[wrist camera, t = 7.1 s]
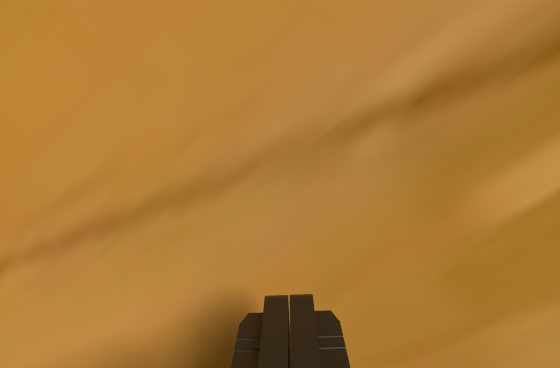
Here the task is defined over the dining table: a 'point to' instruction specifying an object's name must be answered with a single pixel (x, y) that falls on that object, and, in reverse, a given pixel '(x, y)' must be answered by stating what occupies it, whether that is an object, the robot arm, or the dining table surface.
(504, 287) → the dining table surface
